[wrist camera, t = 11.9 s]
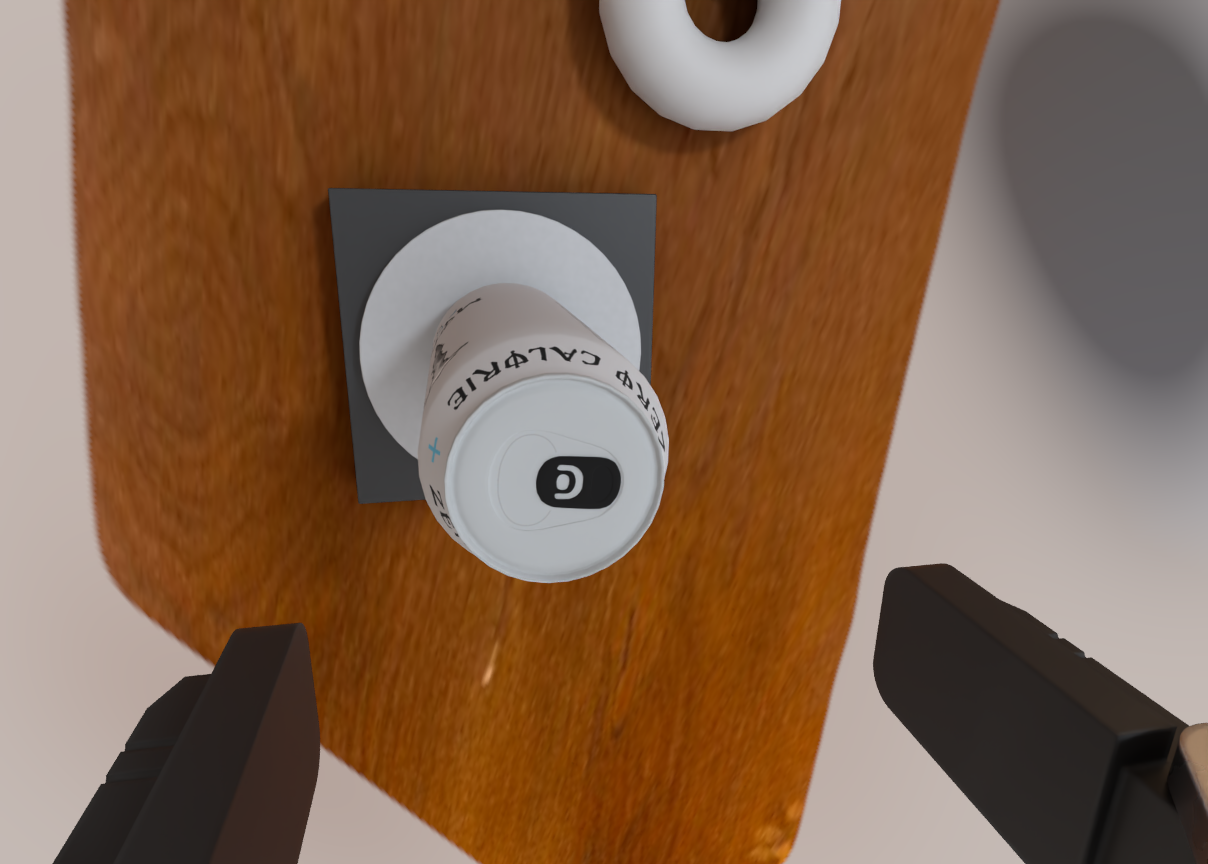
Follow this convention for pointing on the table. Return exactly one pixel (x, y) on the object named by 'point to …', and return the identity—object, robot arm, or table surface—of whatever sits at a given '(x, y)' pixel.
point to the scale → (458, 266)
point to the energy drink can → (538, 438)
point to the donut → (718, 59)
